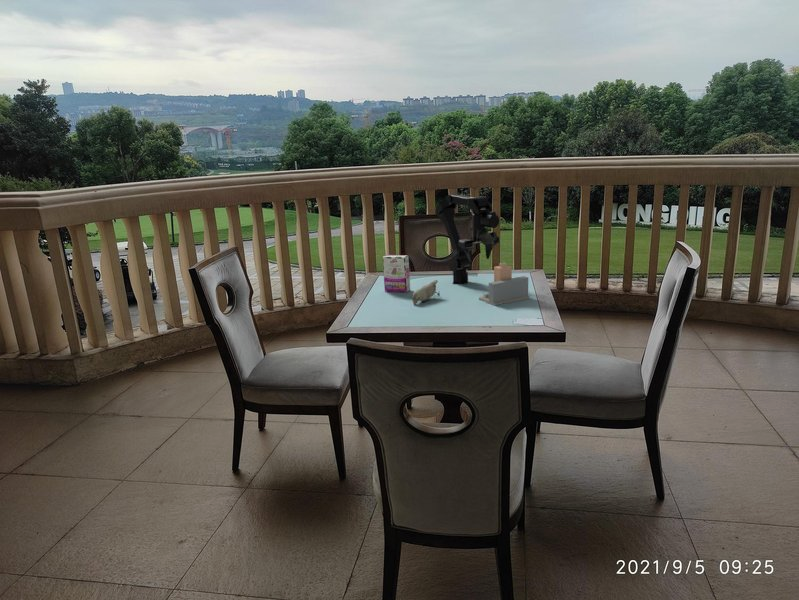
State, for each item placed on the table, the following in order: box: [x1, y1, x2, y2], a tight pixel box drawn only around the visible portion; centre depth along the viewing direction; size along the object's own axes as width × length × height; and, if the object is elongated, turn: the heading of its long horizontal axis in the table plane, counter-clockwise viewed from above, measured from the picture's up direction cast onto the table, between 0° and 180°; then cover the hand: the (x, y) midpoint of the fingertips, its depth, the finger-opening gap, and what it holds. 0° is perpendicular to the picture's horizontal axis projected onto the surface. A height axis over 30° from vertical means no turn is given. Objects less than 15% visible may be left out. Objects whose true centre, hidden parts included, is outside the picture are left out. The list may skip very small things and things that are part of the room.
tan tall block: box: [493, 261, 513, 282], centre depth 228 cm, size 4×6×15 cm, turn 117°
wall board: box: [478, 275, 530, 306], centre depth 228 cm, size 11×18×9 cm, turn 117°
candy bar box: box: [382, 254, 411, 293], centre depth 247 cm, size 11×5×16 cm, turn 68°
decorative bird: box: [411, 279, 441, 306], centre depth 232 cm, size 5×16×8 cm, turn 138°
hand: (479, 260), depth 243 cm, fingers open, 9 cm apart
